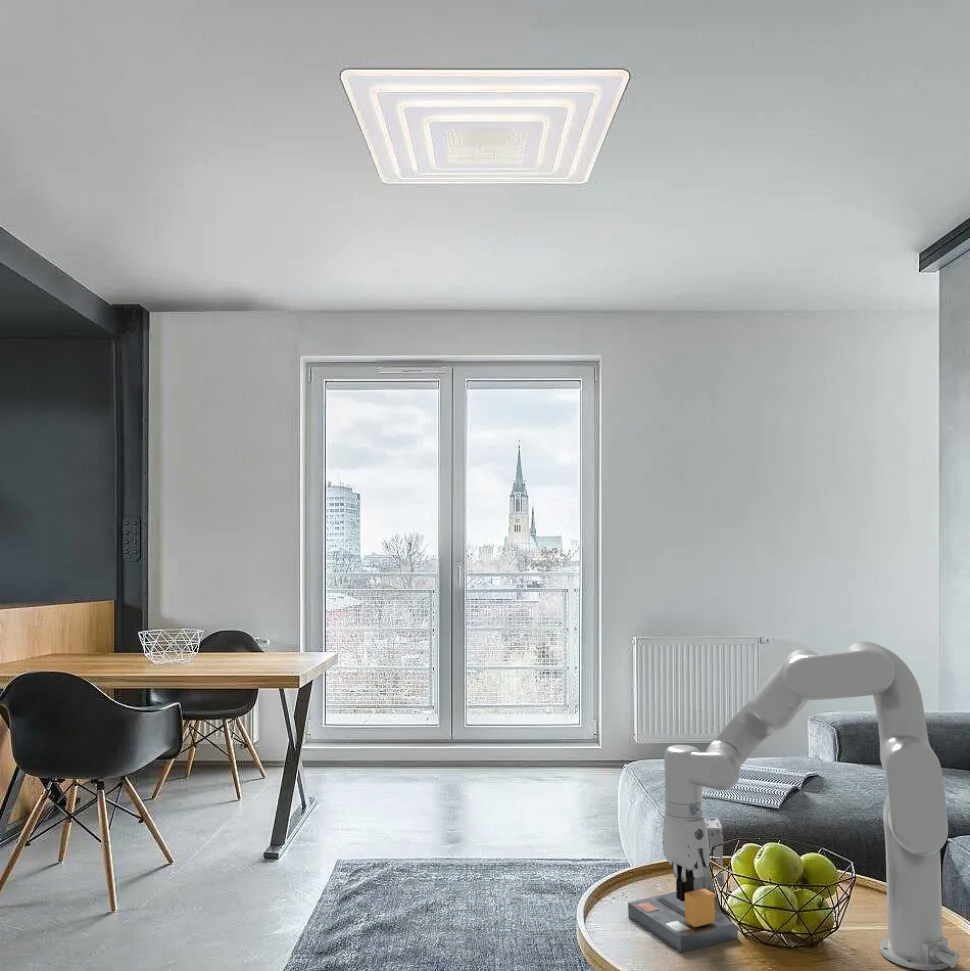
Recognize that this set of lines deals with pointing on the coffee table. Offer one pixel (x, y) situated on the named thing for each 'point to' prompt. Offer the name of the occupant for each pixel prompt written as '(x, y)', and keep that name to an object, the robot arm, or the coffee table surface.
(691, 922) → the block
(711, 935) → the panel
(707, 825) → the circuit breaker
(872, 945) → the coffee table surface
